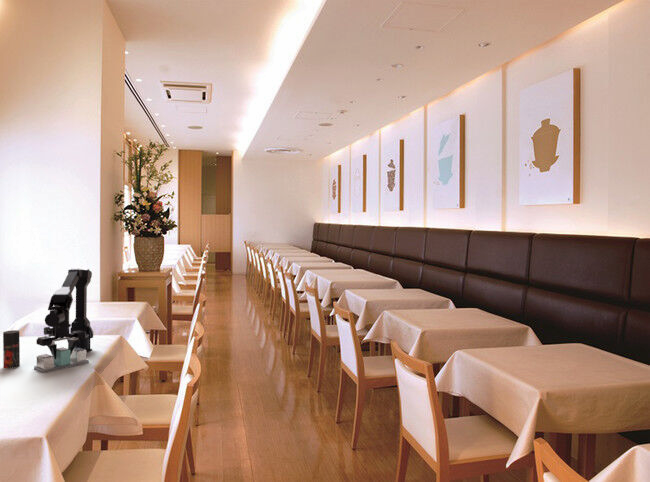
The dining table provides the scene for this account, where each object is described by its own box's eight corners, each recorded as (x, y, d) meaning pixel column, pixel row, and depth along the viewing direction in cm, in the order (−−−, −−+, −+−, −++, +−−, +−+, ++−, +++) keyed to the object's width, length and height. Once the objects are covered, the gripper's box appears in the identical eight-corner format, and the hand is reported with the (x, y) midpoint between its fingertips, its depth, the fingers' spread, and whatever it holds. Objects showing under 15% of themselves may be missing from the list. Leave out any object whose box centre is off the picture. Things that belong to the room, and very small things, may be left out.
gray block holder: (78, 359, 227) (78, 346, 227) (88, 362, 222) (88, 349, 221) (34, 368, 211) (34, 355, 211) (44, 372, 206) (44, 358, 206)
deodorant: (23, 365, 216) (22, 331, 215) (10, 369, 210) (10, 333, 210) (12, 363, 218) (12, 329, 217) (0, 367, 212) (-1, 332, 212)
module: (63, 360, 220) (62, 346, 220) (70, 363, 216) (70, 349, 216) (53, 362, 217) (53, 348, 217) (61, 365, 213) (61, 351, 213)
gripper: (73, 316, 228) (74, 350, 229) (30, 322, 213) (30, 358, 214) (86, 319, 221) (86, 354, 222) (42, 326, 206) (42, 363, 207)
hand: (62, 357), depth 216 cm, fingers open, 6 cm apart
